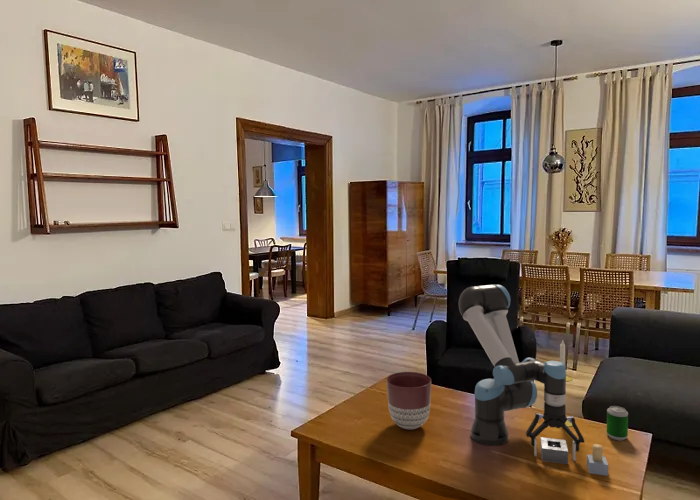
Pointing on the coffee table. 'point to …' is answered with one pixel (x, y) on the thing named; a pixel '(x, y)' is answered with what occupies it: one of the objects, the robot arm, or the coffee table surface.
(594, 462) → the blue-gray block
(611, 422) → the soda can
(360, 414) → the coffee table surface
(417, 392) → the planter
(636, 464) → the coffee table surface
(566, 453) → the grey hollow block
